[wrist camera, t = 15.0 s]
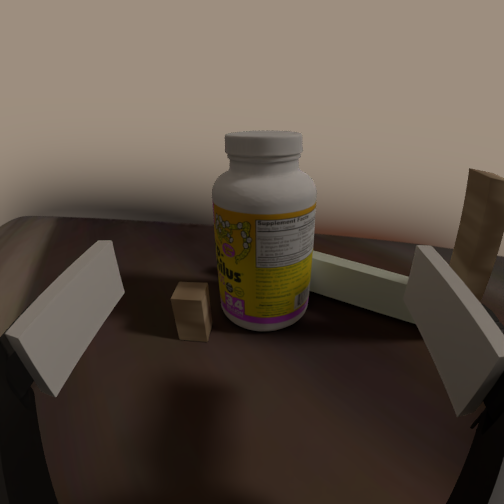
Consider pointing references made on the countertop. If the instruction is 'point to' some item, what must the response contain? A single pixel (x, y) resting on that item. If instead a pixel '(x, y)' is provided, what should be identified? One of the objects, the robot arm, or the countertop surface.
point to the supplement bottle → (264, 230)
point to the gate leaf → (360, 285)
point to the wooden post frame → (462, 262)
